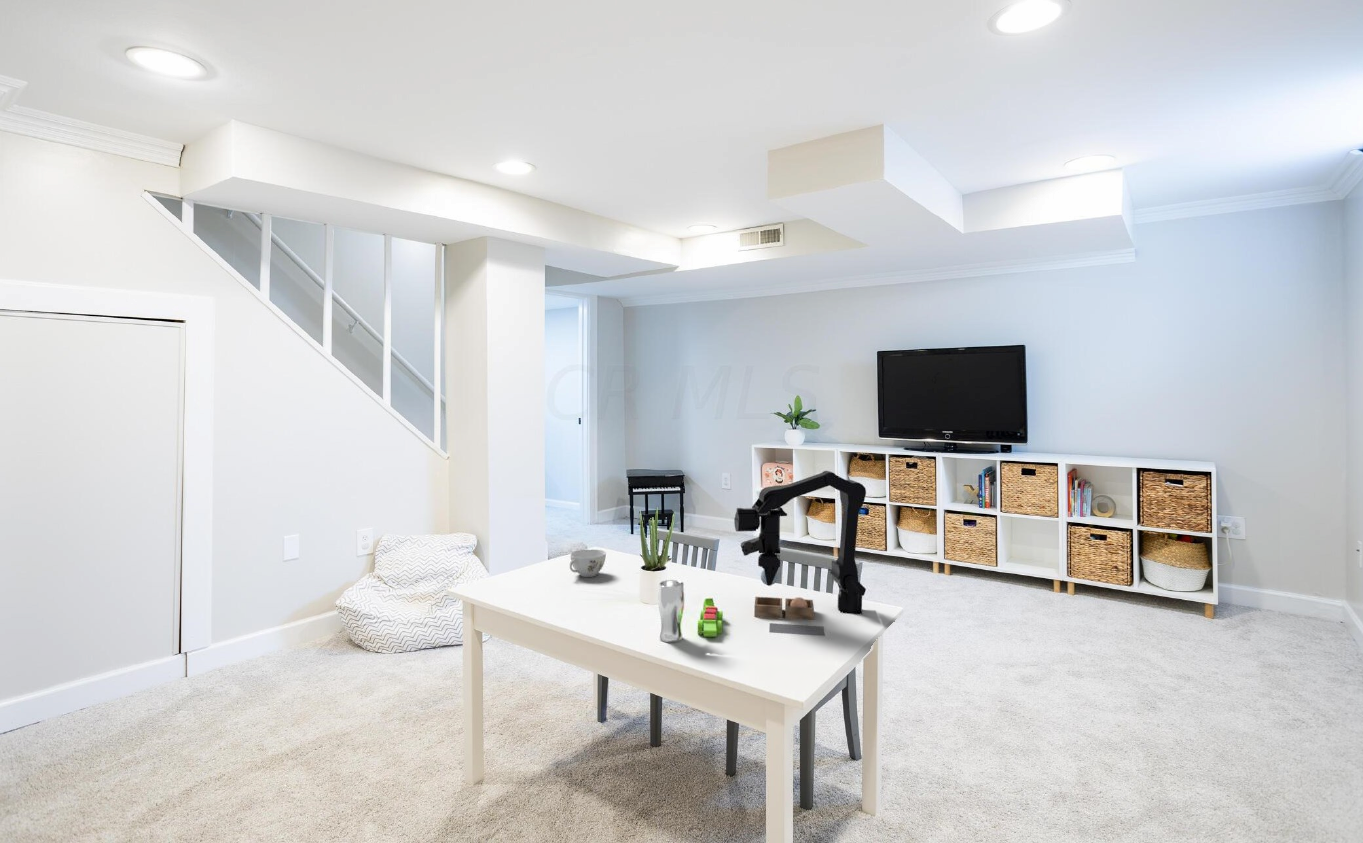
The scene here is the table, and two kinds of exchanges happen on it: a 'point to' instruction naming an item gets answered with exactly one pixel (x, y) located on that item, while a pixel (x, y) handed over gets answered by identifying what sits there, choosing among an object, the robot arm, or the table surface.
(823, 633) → the mat
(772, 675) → the table surface
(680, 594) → the beer glass
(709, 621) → the toy crocodile
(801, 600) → the ball terracotta
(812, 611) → the wooden cubby box
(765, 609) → the open wooden crate
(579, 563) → the teacup
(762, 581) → the ball slate
